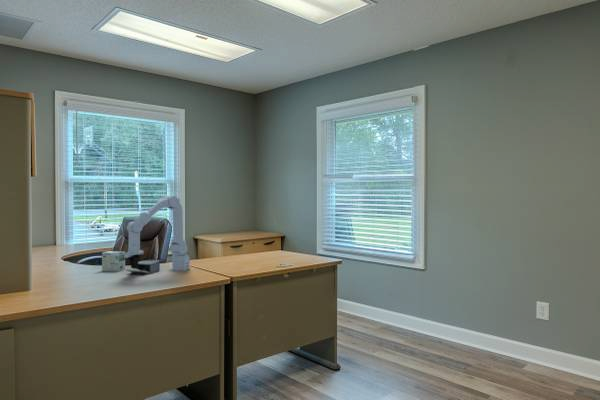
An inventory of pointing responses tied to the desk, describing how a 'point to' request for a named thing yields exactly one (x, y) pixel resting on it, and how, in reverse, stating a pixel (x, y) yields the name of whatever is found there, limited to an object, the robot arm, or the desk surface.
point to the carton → (149, 266)
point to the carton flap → (137, 271)
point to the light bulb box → (113, 261)
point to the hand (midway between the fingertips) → (134, 269)
